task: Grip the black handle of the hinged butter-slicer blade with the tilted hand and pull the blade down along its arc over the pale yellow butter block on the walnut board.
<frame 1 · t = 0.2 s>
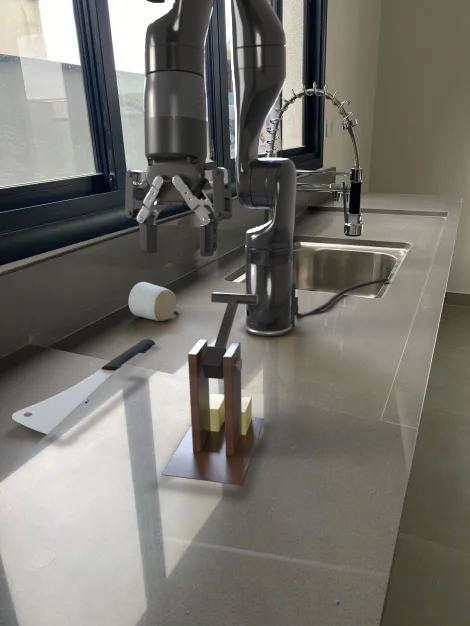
hand: (177, 254, 63), 22 cm above the worktop, tool pointing down, fingers open, 8 cm apart
lever: (224, 330, 60), point 14 cm above the worktop, hinge at 25.0°
butter 2: (239, 425, 64), point 1 cm above the worktop, touching slicer
kitchen cleaver: (109, 385, 78), on the worktop
slicer: (218, 453, 60), on the worktop
ceramic mug: (157, 317, 110), on the worktop
butter 1: (214, 423, 64), point 1 cm above the worktop, touching slicer
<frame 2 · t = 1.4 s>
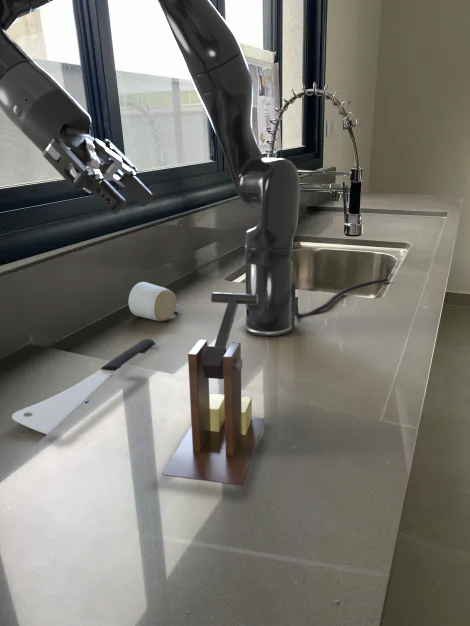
hand: (135, 205, 63), 28 cm above the worktop, tool tilted 45°, fingers open, 8 cm apart
nothing on the worktop moved.
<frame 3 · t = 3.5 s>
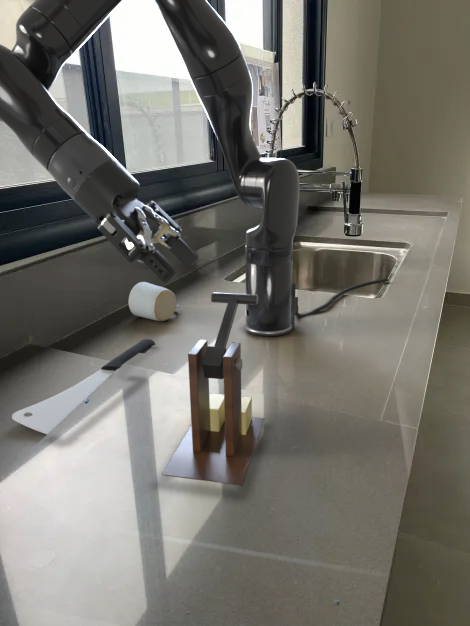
hand: (183, 270, 65), 20 cm above the worktop, tool tilted 45°, fingers open, 8 cm apart
nothing on the worktop moved.
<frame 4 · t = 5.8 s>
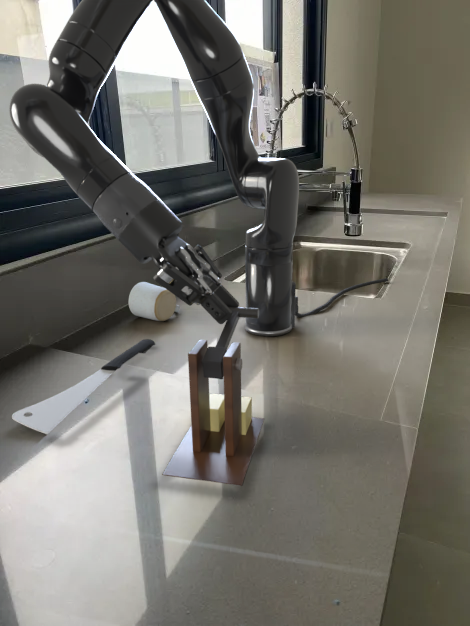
hand: (230, 314, 65), 15 cm above the worktop, tool tilted 45°, fingers closed on lever, 3 cm apart
lever: (225, 337, 61), point 13 cm above the worktop, hinge at 13.5°, touching gripper
everything else where it was.
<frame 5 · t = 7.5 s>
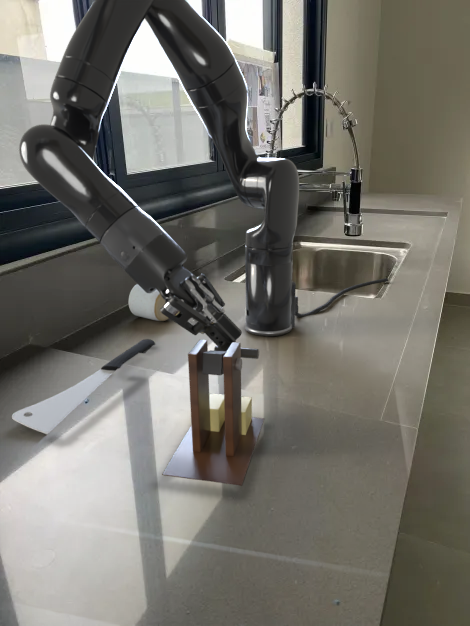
hand: (233, 342, 67), 10 cm above the worktop, tool tilted 45°, fingers open, 3 cm apart
lever: (226, 357, 61), point 11 cm above the worktop, hinge at -16.6°, touching gripper
everything else where it was.
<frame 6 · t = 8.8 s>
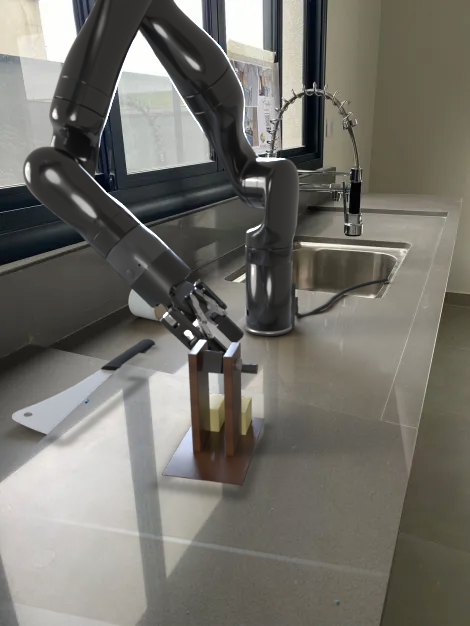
hand: (234, 349, 69), 9 cm above the worktop, tool tilted 45°, fingers open, 7 cm apart
lever: (225, 365, 61), point 10 cm above the worktop, hinge at -27.2°, touching gripper
everything else where it was.
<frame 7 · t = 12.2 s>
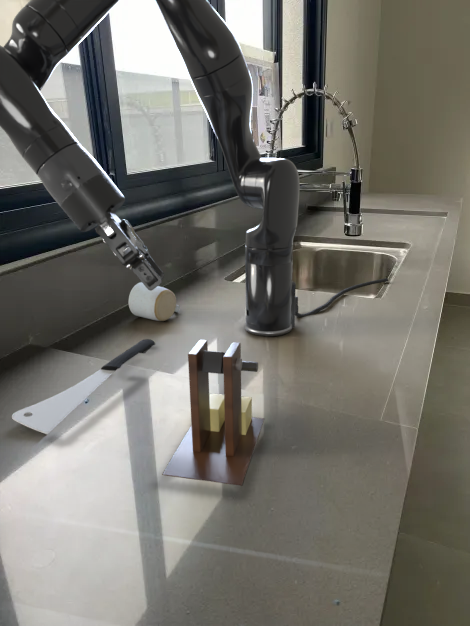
hand: (158, 283, 69), 17 cm above the worktop, tool tilted 35°, fingers open, 8 cm apart
lever: (225, 363, 61), point 10 cm above the worktop, hinge at -25.7°
everything else where it was.
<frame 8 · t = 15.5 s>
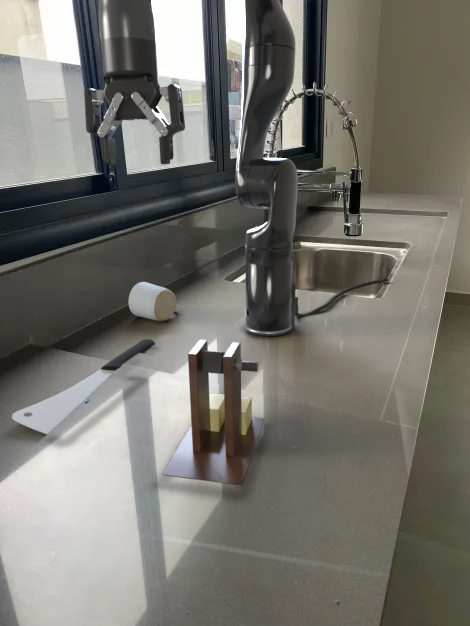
hand: (138, 164, 73), 33 cm above the worktop, tool pointing down, fingers open, 8 cm apart
nothing on the worktop moved.
at the end: lever at -26° (first picture: +25°); butter 2 moved 0.0 cm from its start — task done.
